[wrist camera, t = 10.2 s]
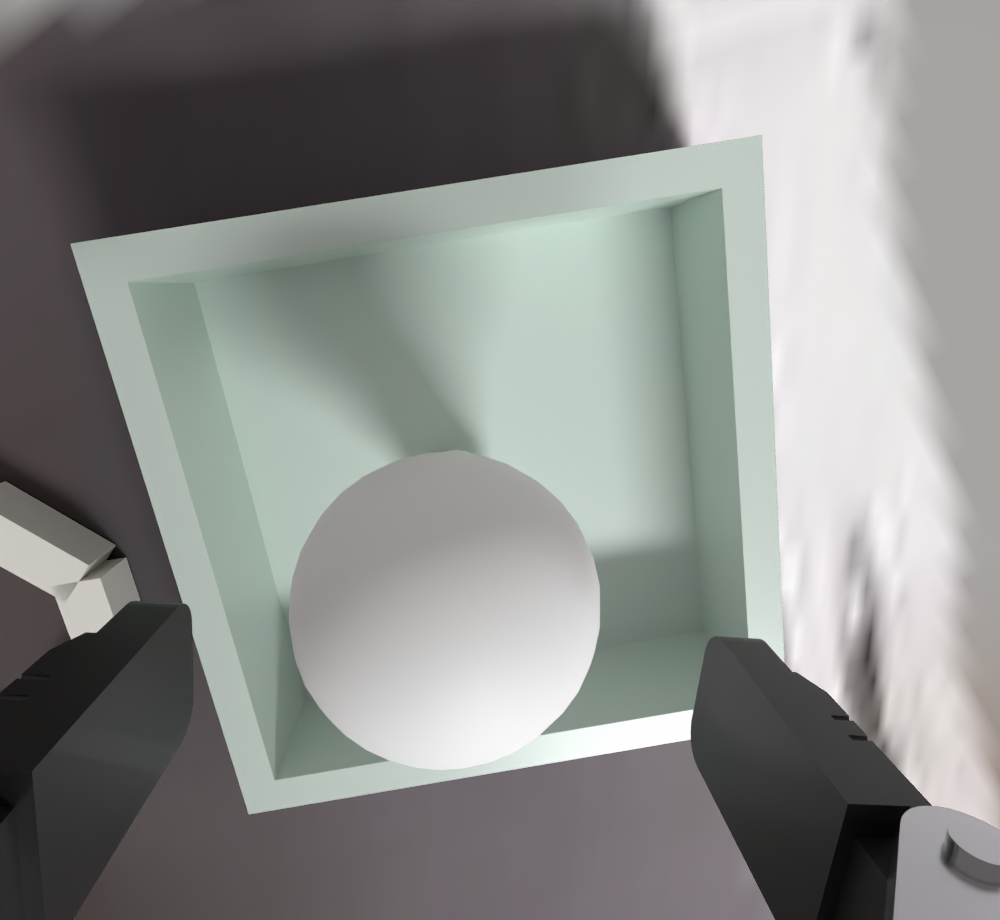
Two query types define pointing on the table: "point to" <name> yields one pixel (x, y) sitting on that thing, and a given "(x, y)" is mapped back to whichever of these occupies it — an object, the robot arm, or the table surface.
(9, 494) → the socket collar
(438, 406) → the bin
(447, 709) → the lightbulb
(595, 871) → the table surface
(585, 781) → the table surface
